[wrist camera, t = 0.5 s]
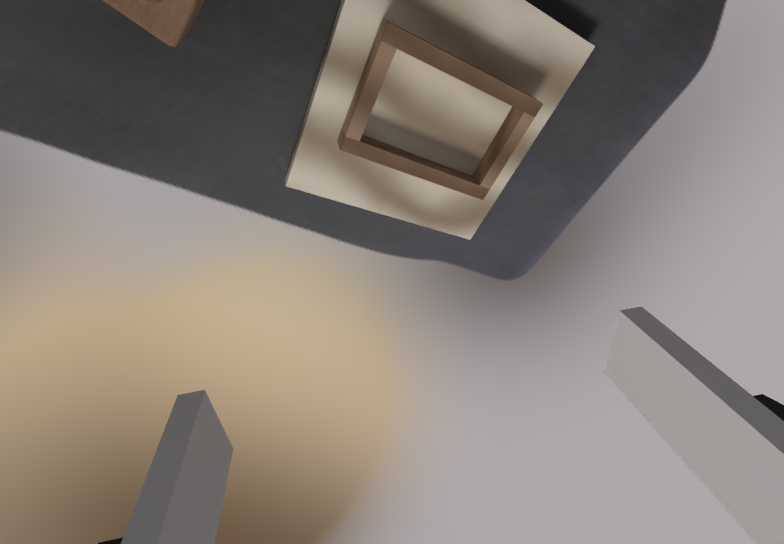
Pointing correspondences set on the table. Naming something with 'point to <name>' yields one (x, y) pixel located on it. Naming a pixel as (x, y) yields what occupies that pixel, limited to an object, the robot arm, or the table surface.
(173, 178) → the table surface
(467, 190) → the keyed plate
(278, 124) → the table surface
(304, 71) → the table surface
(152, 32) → the wooden block
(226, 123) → the table surface
